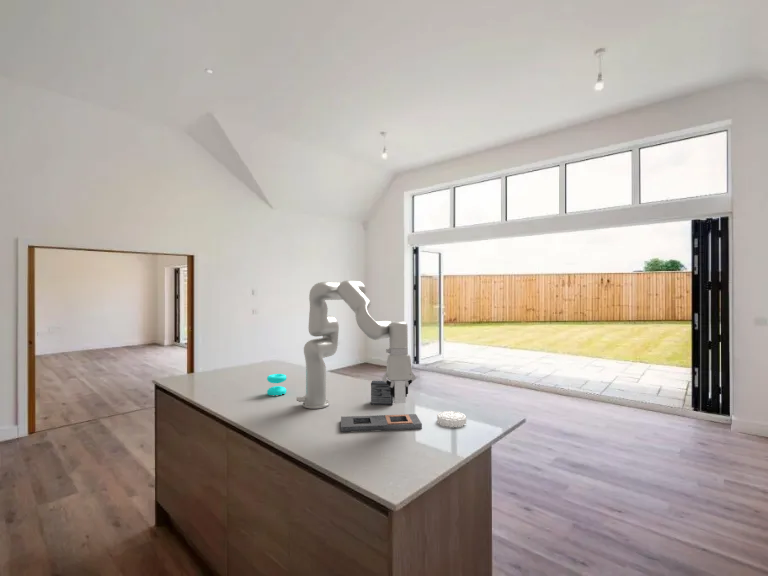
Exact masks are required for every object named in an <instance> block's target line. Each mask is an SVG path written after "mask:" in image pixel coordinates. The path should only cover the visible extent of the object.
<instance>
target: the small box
mask: <svg viewBox="0 0 768 576" xmlns="http://www.w3.org/2000/svg"><path fill="white" fill-rule="evenodd" d="M373 404H374V405H375V406H377V405H378V406H393V405H394V401H393V397H392V395H391V392H390V386H389V385H388V384H387V383H386V382H384V381H383V380H372V381H371V382H370V405H371V406H373Z"/></svg>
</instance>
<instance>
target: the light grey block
mask: <svg viewBox="0 0 768 576" xmlns="http://www.w3.org/2000/svg"><path fill="white" fill-rule="evenodd" d="M394 395H395V397H393V404H406V401H407V400H406V398H407V397H406V394H405V380H397V381H394Z"/></svg>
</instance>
